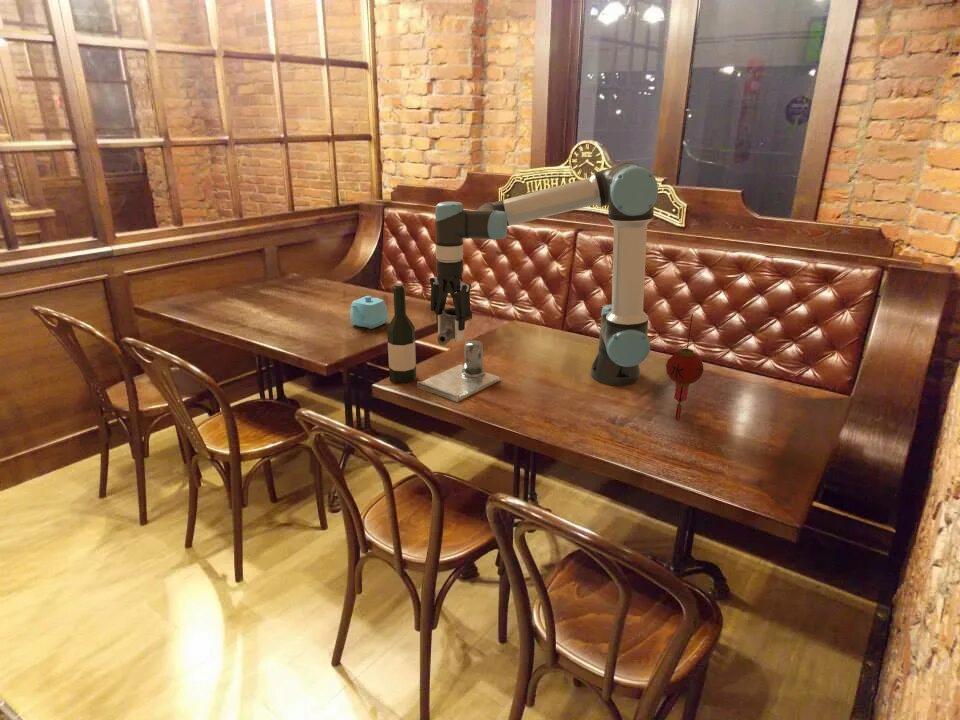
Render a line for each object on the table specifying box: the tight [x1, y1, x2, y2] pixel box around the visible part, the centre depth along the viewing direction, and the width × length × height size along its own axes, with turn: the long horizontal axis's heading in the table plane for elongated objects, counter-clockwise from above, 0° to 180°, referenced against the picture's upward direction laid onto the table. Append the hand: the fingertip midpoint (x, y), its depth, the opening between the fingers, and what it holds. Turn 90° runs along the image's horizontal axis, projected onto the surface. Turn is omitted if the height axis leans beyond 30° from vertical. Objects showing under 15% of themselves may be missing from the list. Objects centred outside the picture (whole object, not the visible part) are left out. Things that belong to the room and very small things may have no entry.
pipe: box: [437, 306, 457, 347], centre depth 177 cm, size 6×13×8 cm, turn 166°
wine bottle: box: [386, 283, 417, 385], centre depth 186 cm, size 8×8×30 cm
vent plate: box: [416, 339, 501, 403], centre depth 187 cm, size 16×21×11 cm
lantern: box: [665, 313, 705, 421], centre depth 162 cm, size 10×10×30 cm
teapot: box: [349, 295, 389, 330], centre depth 237 cm, size 12×18×12 cm
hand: (450, 337), depth 180 cm, fingers closed on pipe, 6 cm apart
